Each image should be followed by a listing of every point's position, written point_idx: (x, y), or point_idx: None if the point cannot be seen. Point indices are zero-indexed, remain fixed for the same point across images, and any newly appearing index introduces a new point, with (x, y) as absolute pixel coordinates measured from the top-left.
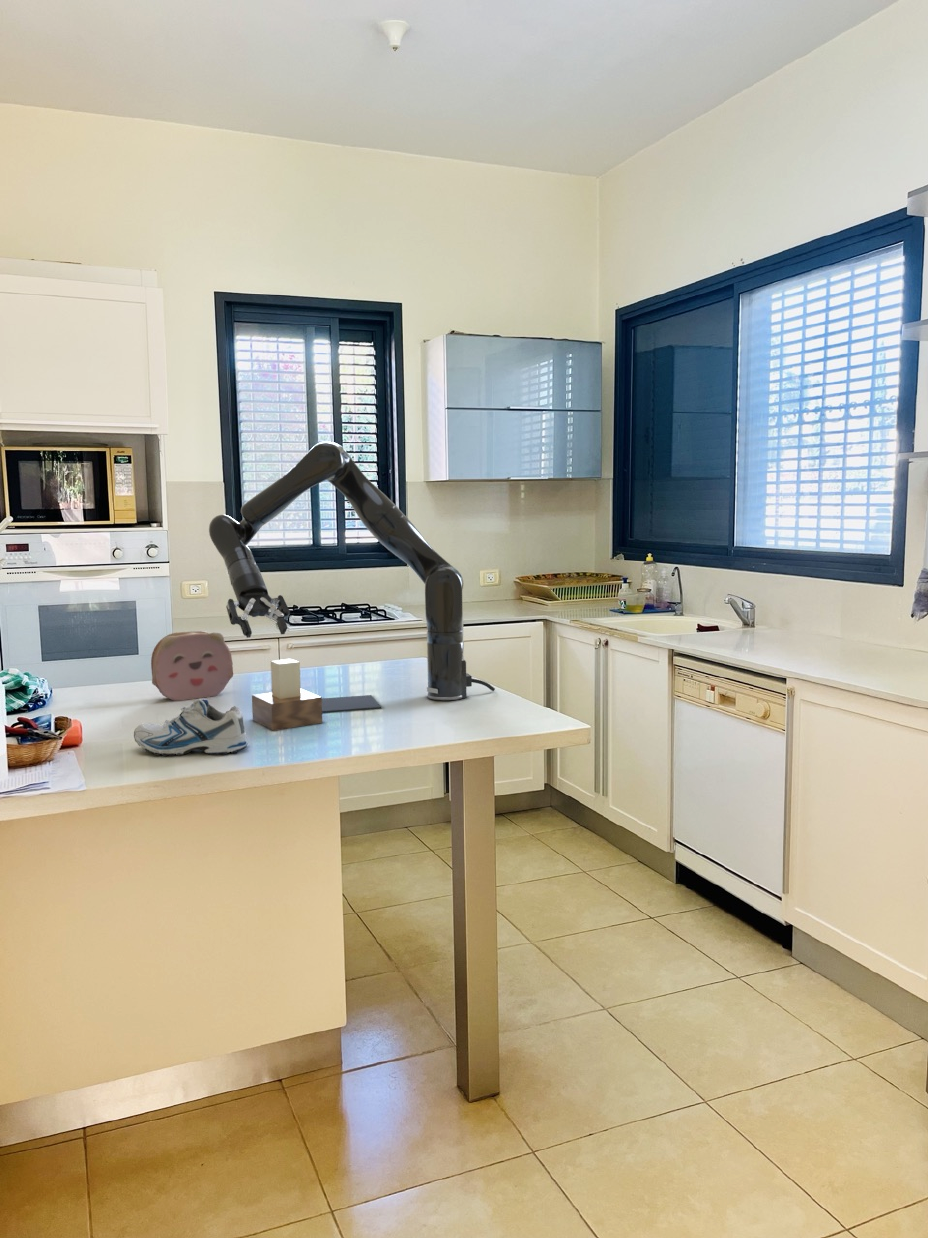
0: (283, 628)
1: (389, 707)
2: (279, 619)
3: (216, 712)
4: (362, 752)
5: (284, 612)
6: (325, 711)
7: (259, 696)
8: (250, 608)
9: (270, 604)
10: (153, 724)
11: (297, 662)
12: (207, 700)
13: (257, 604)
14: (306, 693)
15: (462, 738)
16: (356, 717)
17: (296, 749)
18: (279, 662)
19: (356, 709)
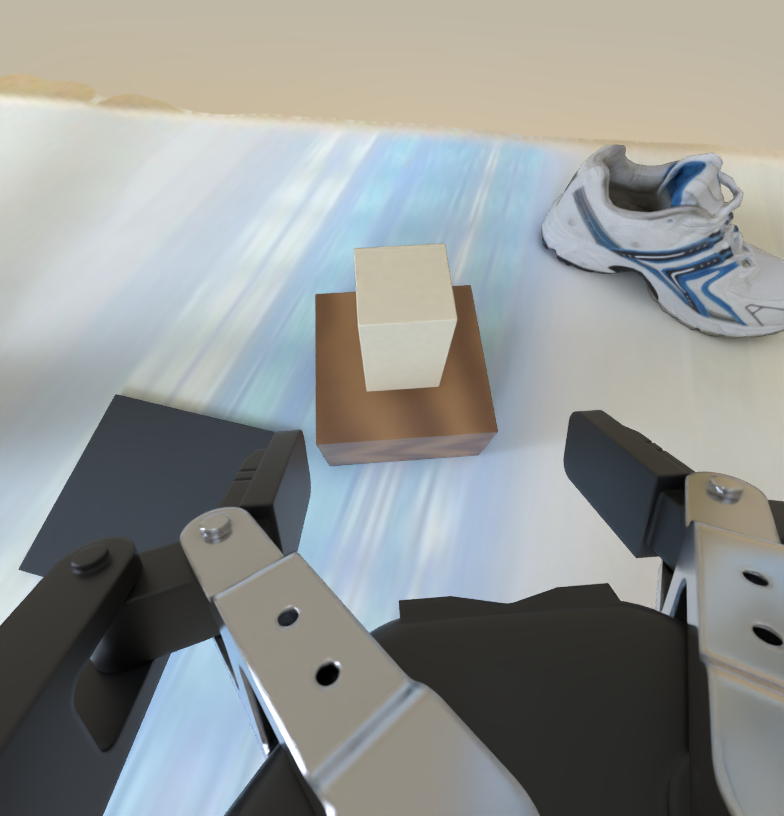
0: (297, 431)
1: (92, 397)
2: (279, 493)
3: (637, 211)
4: (357, 136)
5: (129, 591)
6: (267, 431)
7: (479, 392)
8: (711, 569)
9: (294, 658)
10: (780, 296)
11: (364, 249)
12: (682, 183)
13: (586, 750)
14: (332, 356)
15: (167, 128)
16: (229, 344)
17: (453, 193)
18: (432, 271)
19: (183, 411)
